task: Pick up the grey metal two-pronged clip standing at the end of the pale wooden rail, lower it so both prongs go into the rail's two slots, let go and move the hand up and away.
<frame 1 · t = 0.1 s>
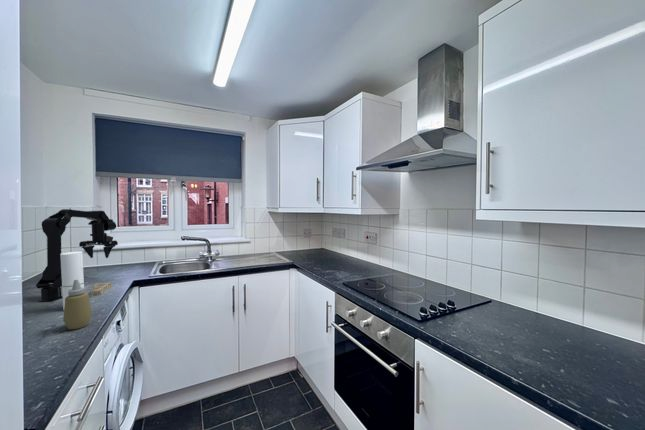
hand: (99, 257, 157), 15 cm above the worktop, tool pointing down, fingers open, 9 cm apart
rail: (98, 291, 142), on the worktop
cylindrical container: (74, 308, 120), on the worktop
clip: (86, 299, 130), on the worktop
squeeze bottle: (78, 326, 102), on the worktop
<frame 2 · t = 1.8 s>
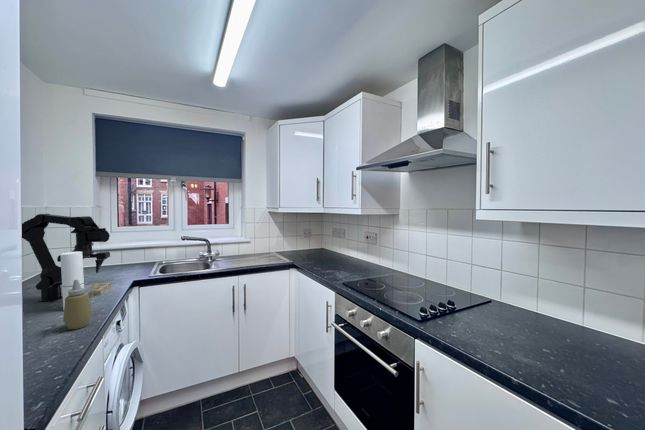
hand: (85, 273, 130), 13 cm above the worktop, tool pointing down, fingers open, 9 cm apart
nothing on the worktop moved.
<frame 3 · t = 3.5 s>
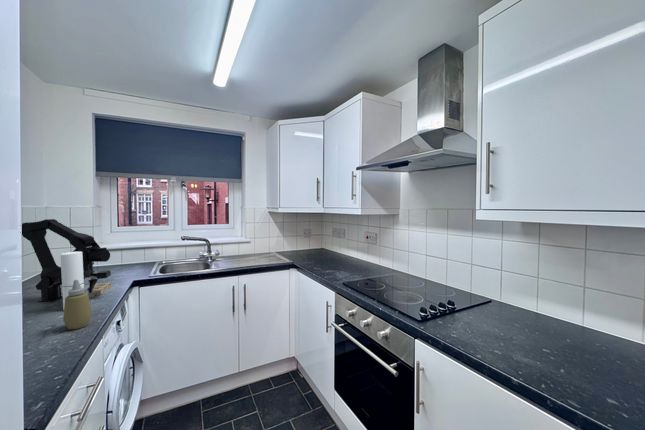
hand: (86, 293, 130), 3 cm above the worktop, tool pointing down, fingers closed on clip, 3 cm apart
clip: (86, 299, 130), on the worktop, touching gripper
everything else where it was.
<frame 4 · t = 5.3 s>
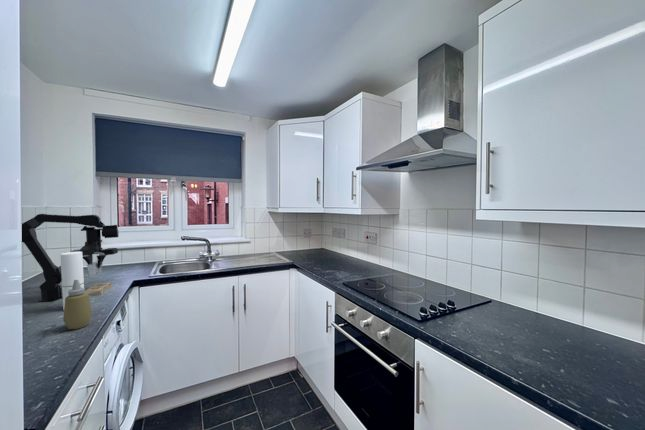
hand: (95, 268, 138), 13 cm above the worktop, tool pointing down, fingers closed on clip, 3 cm apart
clip: (95, 274, 139), point 10 cm above the worktop, touching gripper
everything else where it was.
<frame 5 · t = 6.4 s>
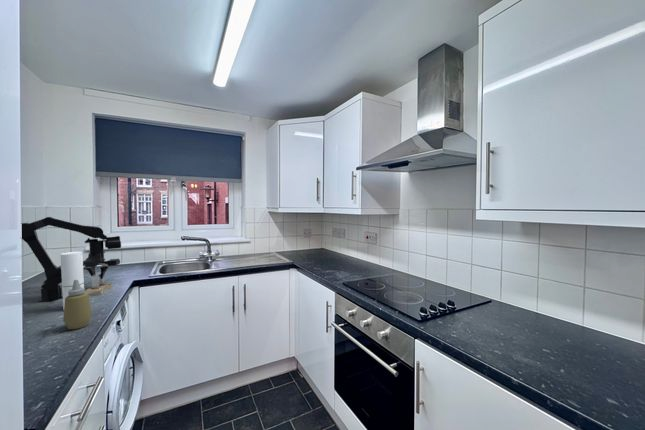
hand: (98, 279, 142), 6 cm above the worktop, tool pointing down, fingers closed on clip, 3 cm apart
clip: (98, 284, 142), point 3 cm above the worktop, touching gripper
everything else where it was.
when the fingers open (4 cm above the worktop, at t = 7.1 s): clip stays where it is, on the worktop.
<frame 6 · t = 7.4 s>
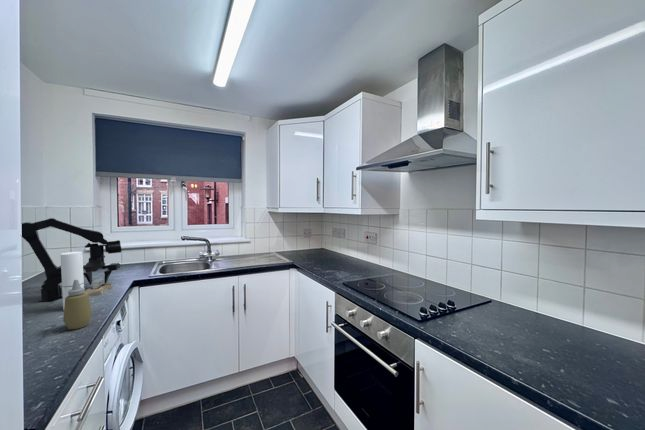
hand: (98, 283, 142), 4 cm above the worktop, tool pointing down, fingers open, 6 cm apart
clip: (98, 291, 142), on the worktop
everything else where it was.
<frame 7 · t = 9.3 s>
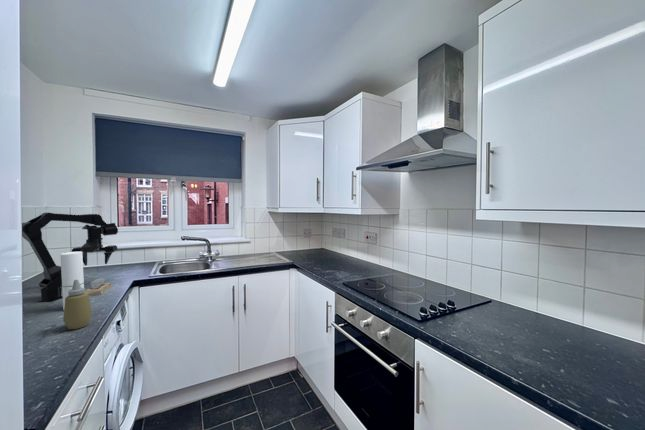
hand: (96, 264, 146), 13 cm above the worktop, tool pointing down, fingers open, 9 cm apart
nothing on the worktop moved.
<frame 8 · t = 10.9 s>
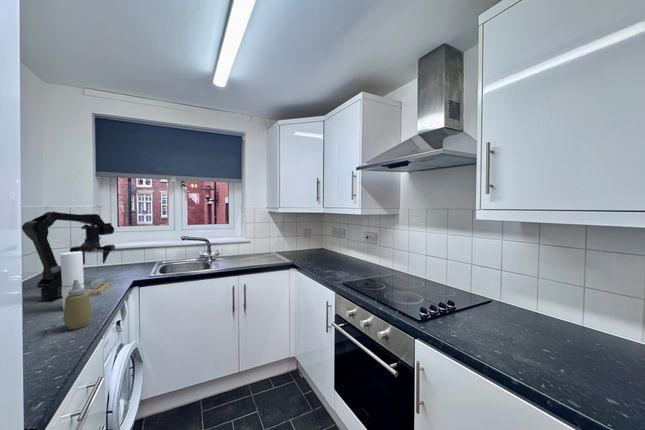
hand: (93, 263, 149), 13 cm above the worktop, tool pointing down, fingers open, 9 cm apart
nothing on the worktop moved.
at the end: clip 0.1 cm off-centre on the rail, point 0.0 cm above the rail's base; clip tilted 0°; the gripper is holding nothing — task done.
